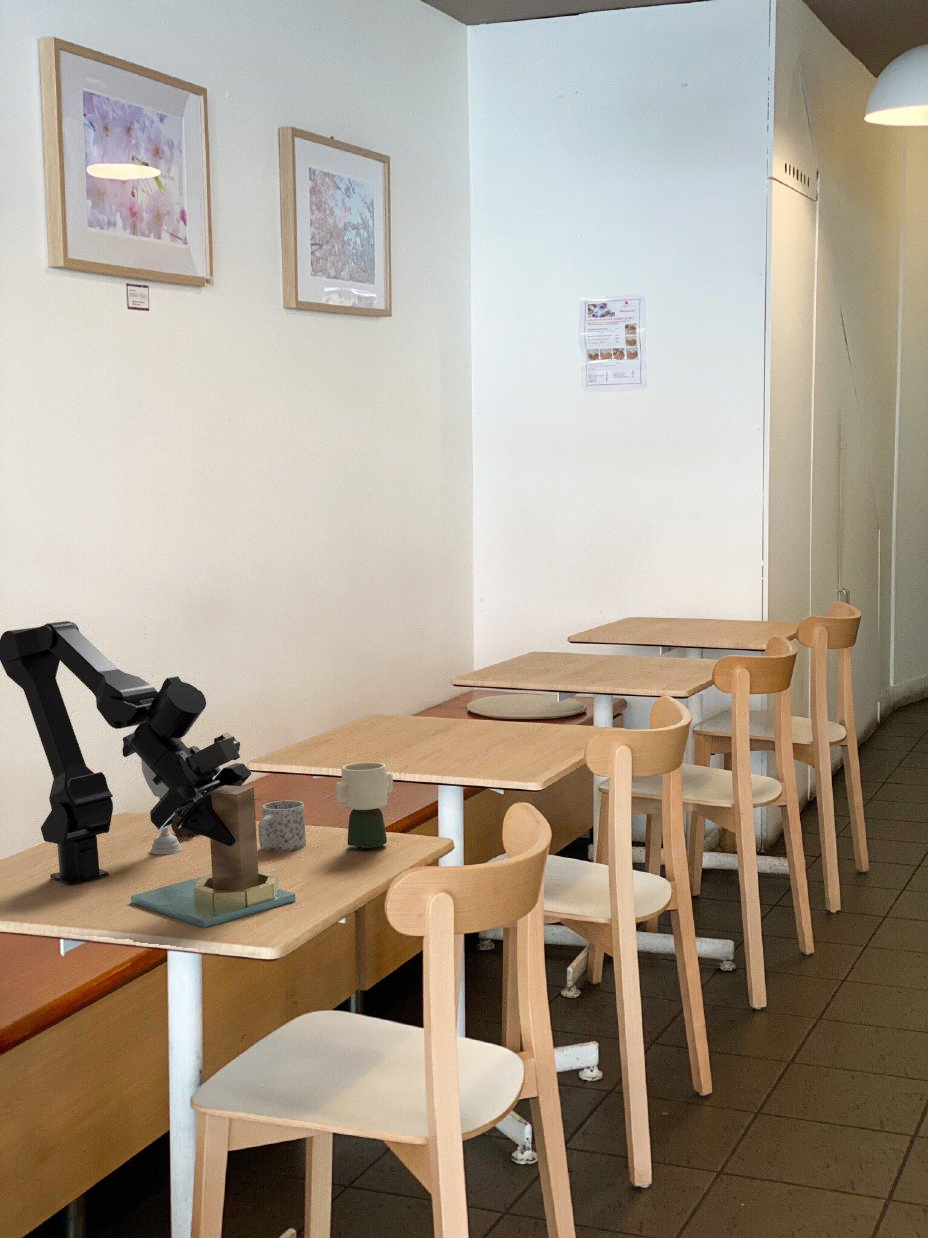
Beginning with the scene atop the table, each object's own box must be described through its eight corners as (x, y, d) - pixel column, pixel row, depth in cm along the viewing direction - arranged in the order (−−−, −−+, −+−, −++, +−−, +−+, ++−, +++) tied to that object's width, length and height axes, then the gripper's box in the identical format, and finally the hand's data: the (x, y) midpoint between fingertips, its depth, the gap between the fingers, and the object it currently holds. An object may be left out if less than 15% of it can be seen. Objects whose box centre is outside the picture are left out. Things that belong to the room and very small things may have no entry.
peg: (213, 892, 191) (207, 792, 190) (230, 883, 195) (224, 785, 194) (242, 895, 189) (237, 794, 188) (259, 885, 194) (253, 786, 192)
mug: (279, 839, 227) (277, 799, 226) (314, 842, 224) (311, 802, 223) (243, 855, 218) (241, 813, 217) (279, 858, 215) (277, 816, 214)
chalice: (197, 847, 223) (191, 737, 222) (167, 858, 218) (160, 744, 216) (164, 843, 227) (158, 734, 226) (134, 853, 222) (127, 741, 220)
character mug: (381, 837, 225) (378, 758, 224) (408, 844, 220) (404, 763, 219) (326, 850, 219) (321, 768, 217) (352, 858, 213) (347, 774, 212)
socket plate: (131, 902, 194) (129, 881, 194) (220, 878, 205) (219, 858, 204) (204, 928, 181) (202, 905, 181) (295, 900, 192) (294, 879, 192)
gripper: (164, 730, 183) (242, 817, 180) (235, 707, 200) (308, 786, 197) (117, 786, 186) (193, 872, 183) (191, 759, 204) (262, 837, 201)
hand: (242, 839), depth 191 cm, fingers closed on peg, 4 cm apart
